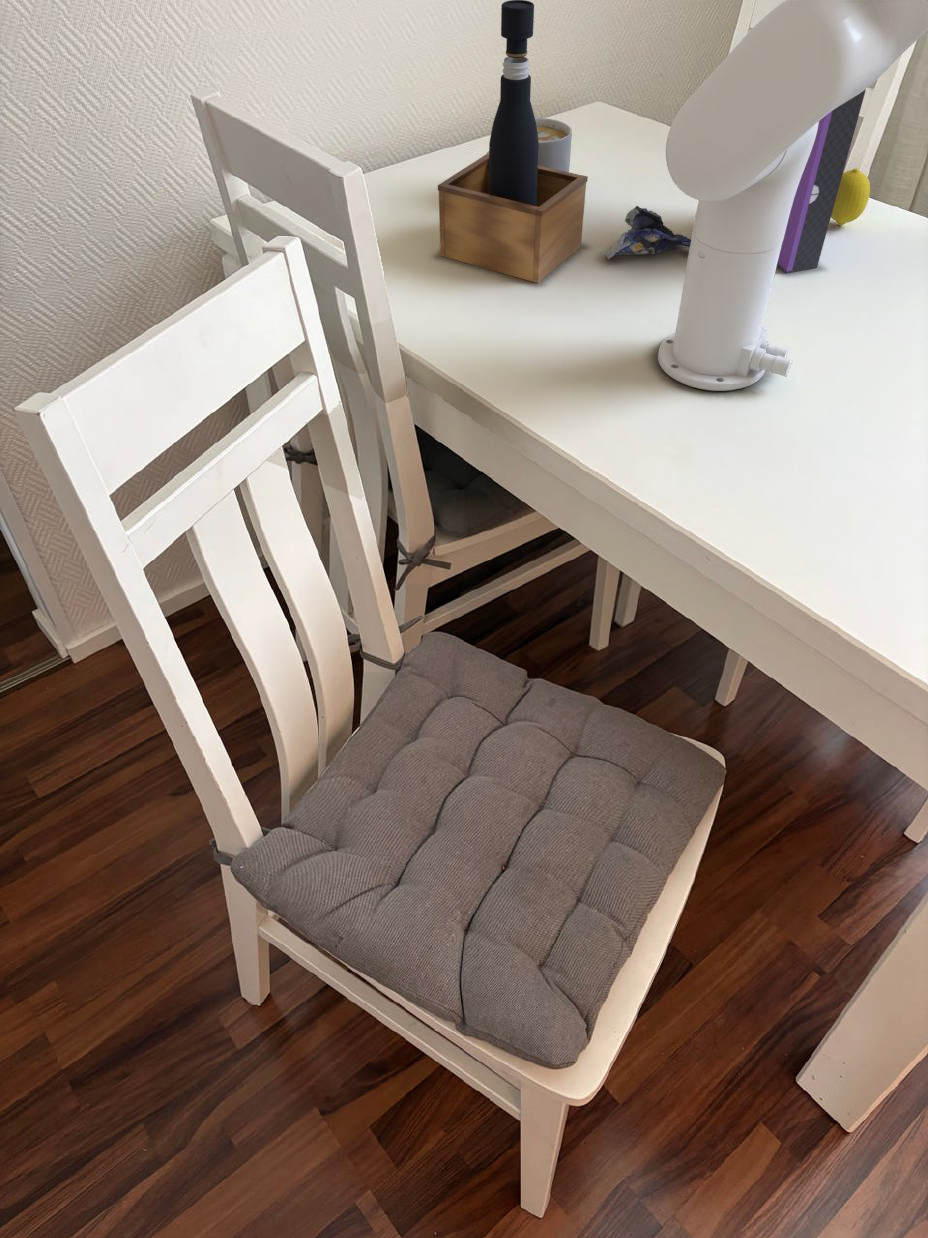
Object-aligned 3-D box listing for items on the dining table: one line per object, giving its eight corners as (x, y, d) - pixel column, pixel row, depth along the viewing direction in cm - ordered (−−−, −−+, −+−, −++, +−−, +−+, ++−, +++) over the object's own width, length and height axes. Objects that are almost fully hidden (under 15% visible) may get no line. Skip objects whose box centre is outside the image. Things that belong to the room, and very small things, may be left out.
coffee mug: (559, 183, 149) (563, 115, 142) (573, 210, 142) (578, 139, 135) (475, 189, 148) (475, 121, 140) (486, 216, 141) (486, 146, 133)
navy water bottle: (482, 244, 134) (483, -1, 113) (524, 238, 136) (533, -6, 114) (496, 264, 130) (500, 13, 108) (540, 257, 131) (553, 8, 110)
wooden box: (581, 246, 134) (587, 176, 127) (538, 283, 126) (542, 211, 119) (486, 221, 140) (487, 153, 132) (439, 255, 132) (437, 184, 125)
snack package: (595, 233, 137) (605, 268, 128) (607, 188, 132) (618, 222, 124) (674, 246, 138) (689, 282, 130) (689, 202, 134) (705, 236, 126)
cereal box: (722, 220, 139) (758, 35, 122) (751, 215, 140) (790, 31, 123) (786, 273, 128) (835, 77, 110) (816, 267, 129) (870, 72, 111)
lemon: (867, 229, 137) (885, 172, 131) (836, 236, 135) (852, 178, 130) (844, 214, 140) (860, 158, 134) (812, 220, 139) (827, 164, 133)
